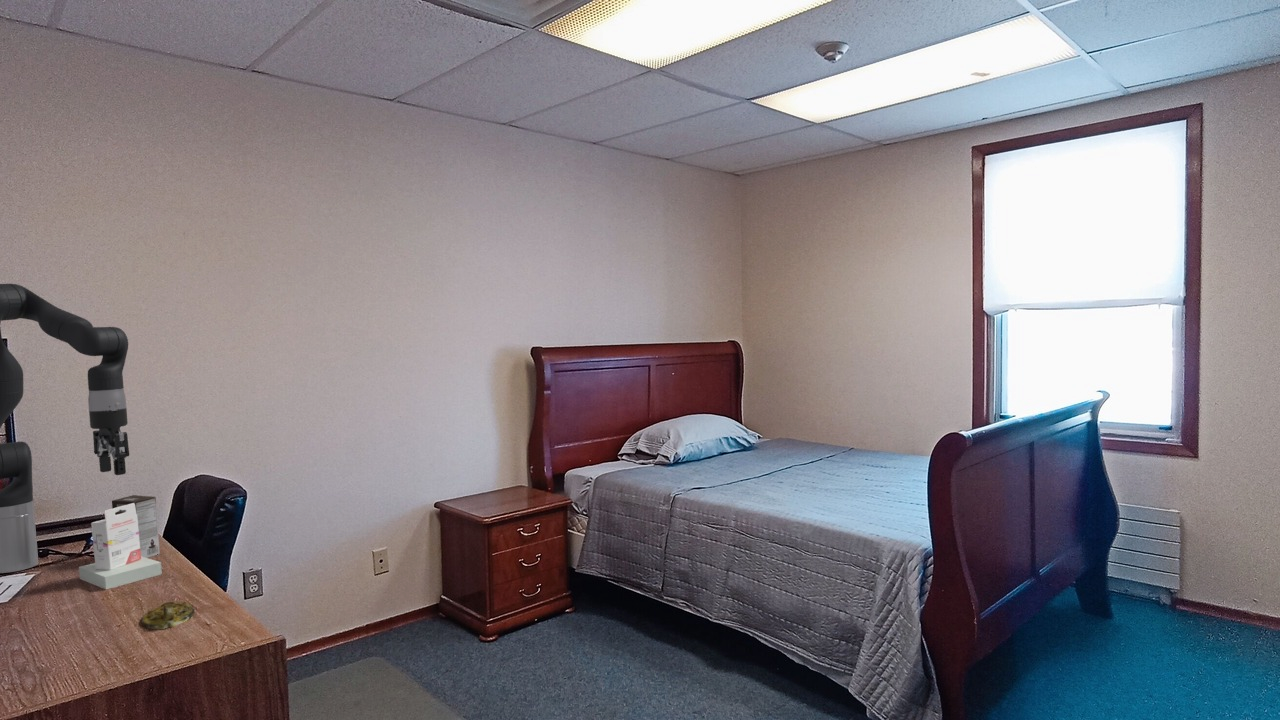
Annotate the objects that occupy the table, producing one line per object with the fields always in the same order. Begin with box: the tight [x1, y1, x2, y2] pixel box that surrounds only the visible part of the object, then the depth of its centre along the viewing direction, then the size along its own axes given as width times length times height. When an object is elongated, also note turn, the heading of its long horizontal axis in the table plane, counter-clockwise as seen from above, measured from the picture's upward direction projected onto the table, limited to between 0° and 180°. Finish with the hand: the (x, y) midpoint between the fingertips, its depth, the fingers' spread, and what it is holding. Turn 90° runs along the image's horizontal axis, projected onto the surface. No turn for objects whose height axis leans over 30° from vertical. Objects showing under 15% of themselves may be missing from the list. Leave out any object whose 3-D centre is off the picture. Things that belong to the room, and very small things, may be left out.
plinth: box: [78, 556, 163, 590], centre depth 184 cm, size 16×12×3 cm
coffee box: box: [111, 494, 160, 559], centre depth 201 cm, size 9×6×16 cm
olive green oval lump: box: [141, 601, 196, 630], centre depth 155 cm, size 9×5×15 cm
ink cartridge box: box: [90, 503, 141, 570], centre depth 184 cm, size 9×5×15 cm, turn 165°
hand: (113, 473), depth 183 cm, fingers open, 8 cm apart
